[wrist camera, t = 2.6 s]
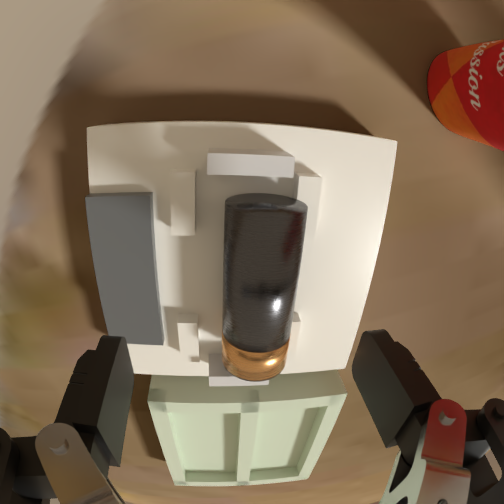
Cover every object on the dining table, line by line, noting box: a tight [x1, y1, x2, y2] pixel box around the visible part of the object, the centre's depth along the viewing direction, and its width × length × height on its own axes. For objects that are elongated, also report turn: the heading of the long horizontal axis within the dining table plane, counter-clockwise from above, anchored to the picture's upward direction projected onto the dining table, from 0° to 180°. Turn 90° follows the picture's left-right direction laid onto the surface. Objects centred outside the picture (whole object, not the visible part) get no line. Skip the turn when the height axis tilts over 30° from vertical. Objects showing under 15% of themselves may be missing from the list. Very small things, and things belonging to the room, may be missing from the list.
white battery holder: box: [85, 121, 397, 386], centre depth 16 cm, size 14×14×4 cm
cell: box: [222, 193, 308, 382], centre depth 14 cm, size 3×9×3 cm, turn 177°
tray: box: [147, 369, 347, 486], centre depth 23 cm, size 14×15×3 cm
